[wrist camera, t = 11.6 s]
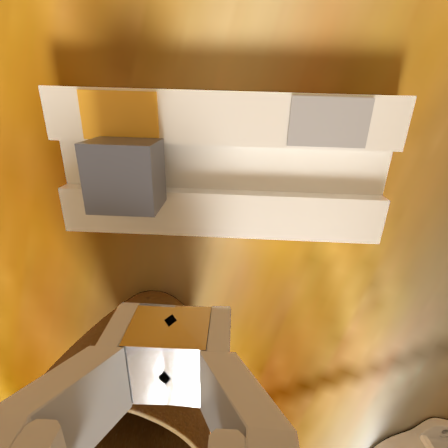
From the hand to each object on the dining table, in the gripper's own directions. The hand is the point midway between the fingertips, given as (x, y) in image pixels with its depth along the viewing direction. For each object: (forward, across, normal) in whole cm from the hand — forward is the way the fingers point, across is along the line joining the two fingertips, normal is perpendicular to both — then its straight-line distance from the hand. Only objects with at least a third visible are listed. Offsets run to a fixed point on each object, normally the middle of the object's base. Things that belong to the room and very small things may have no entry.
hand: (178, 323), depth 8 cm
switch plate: (+21, 0, 0) cm, 21 cm away
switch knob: (+19, +7, 0) cm, 20 cm away
